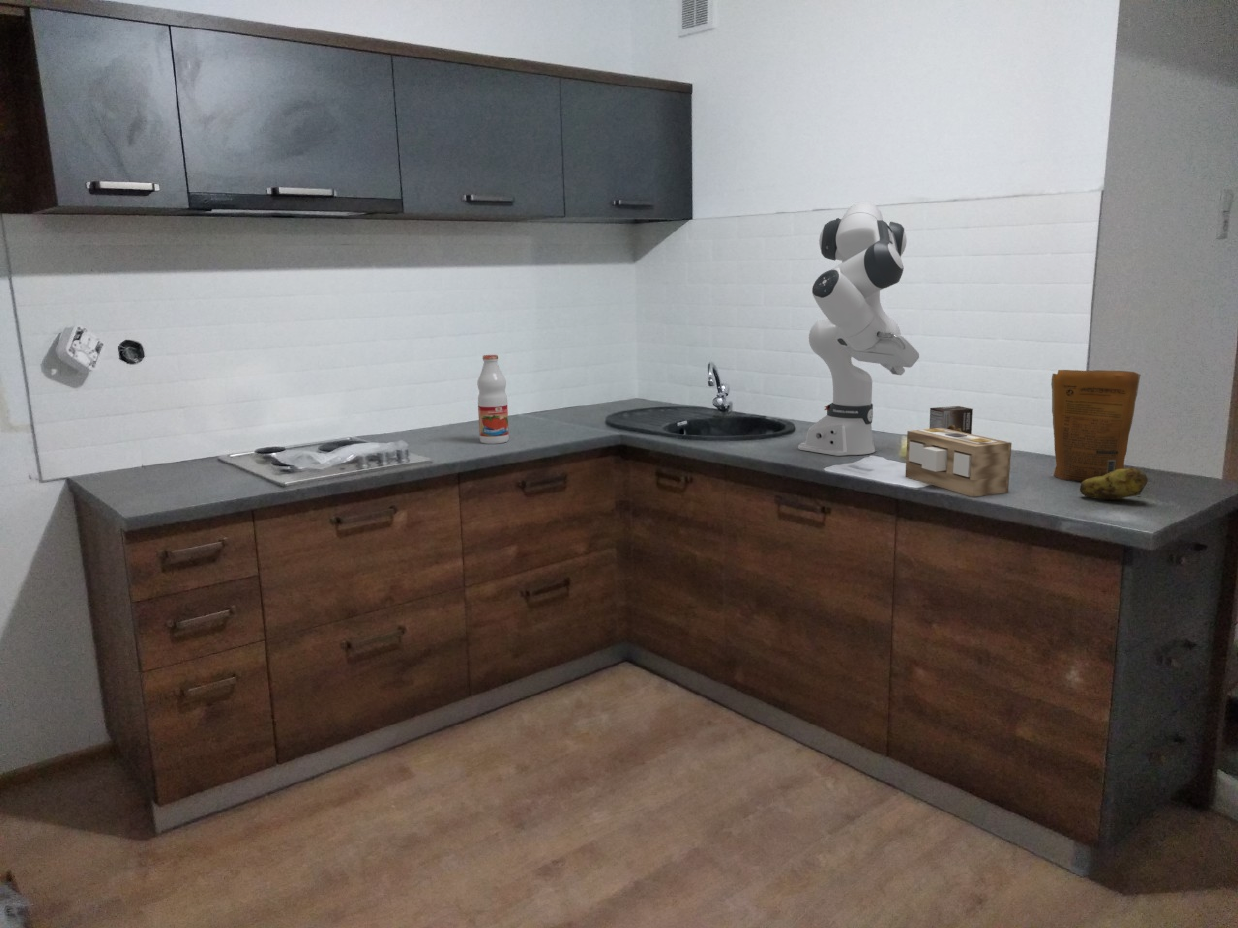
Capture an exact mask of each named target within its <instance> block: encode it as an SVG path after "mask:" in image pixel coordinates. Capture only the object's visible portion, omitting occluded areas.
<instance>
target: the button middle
mask: <svg viewBox="0 0 1238 928" xmlns="http://www.w3.org/2000/svg"><path fill="white" fill-rule="evenodd" d="M947 453H948V448H944V447H939V446H935V447H926V448H923V450H922V468H924V469H928V470H932V471H935V472H936V471H945V470H947Z"/></svg>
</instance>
